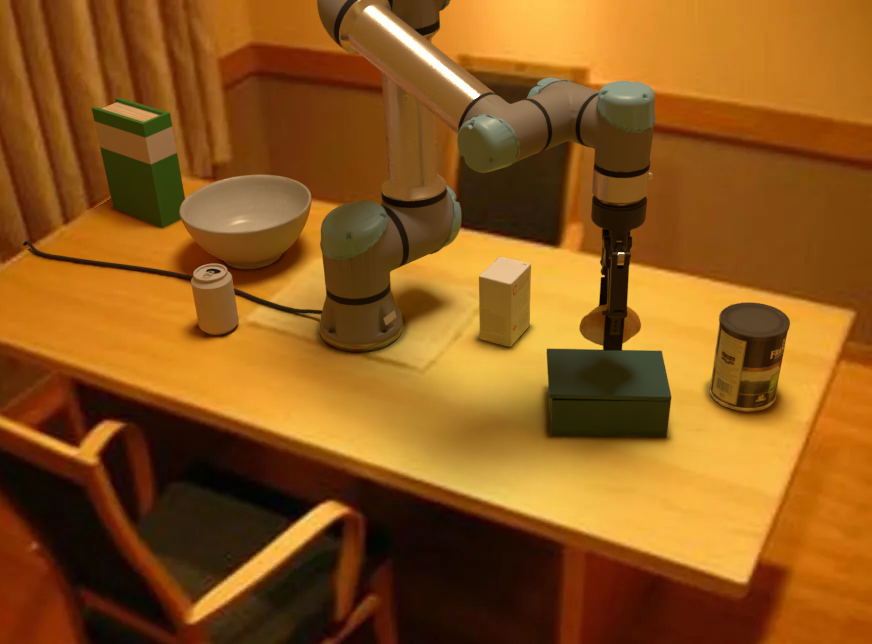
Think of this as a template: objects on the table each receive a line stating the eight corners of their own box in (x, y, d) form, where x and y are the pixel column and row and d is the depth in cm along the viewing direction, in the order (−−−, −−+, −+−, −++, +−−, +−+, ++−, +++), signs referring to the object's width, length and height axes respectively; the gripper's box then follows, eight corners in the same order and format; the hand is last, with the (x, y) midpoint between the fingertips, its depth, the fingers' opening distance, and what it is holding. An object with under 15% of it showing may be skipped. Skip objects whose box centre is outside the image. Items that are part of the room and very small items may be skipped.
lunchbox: (550, 435, 168) (552, 400, 164) (548, 388, 178) (549, 354, 175) (666, 437, 166) (671, 401, 162) (657, 389, 176) (661, 355, 172)
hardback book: (113, 208, 248) (91, 108, 234) (138, 196, 252) (118, 97, 239) (162, 227, 238) (142, 124, 224) (188, 215, 242) (170, 112, 228)
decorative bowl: (162, 264, 224) (151, 211, 217) (252, 215, 240) (245, 164, 233) (253, 300, 209) (244, 245, 202) (343, 245, 225) (338, 192, 218)
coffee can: (783, 384, 175) (797, 310, 167) (766, 418, 168) (780, 343, 160) (719, 368, 180) (730, 295, 172) (700, 401, 173) (710, 327, 165)
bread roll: (648, 327, 164) (651, 305, 162) (616, 353, 159) (618, 330, 157) (602, 310, 169) (603, 288, 166) (569, 335, 164) (570, 313, 161)
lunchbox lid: (549, 398, 164) (549, 393, 164) (546, 352, 174) (546, 348, 174) (670, 401, 162) (671, 396, 162) (661, 354, 172) (661, 350, 172)
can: (246, 320, 203) (238, 264, 196) (226, 340, 198) (217, 283, 191) (212, 313, 206) (203, 258, 199) (192, 333, 201) (181, 277, 194)
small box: (498, 318, 198) (499, 255, 190) (530, 326, 194) (532, 262, 187) (478, 339, 192) (477, 275, 185) (510, 348, 189) (511, 283, 182)
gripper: (656, 230, 141) (642, 372, 154) (639, 163, 159) (628, 295, 172) (597, 231, 142) (589, 372, 155) (587, 164, 160) (580, 295, 173)
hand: (609, 331), depth 163 cm, fingers closed on bread roll, 9 cm apart
